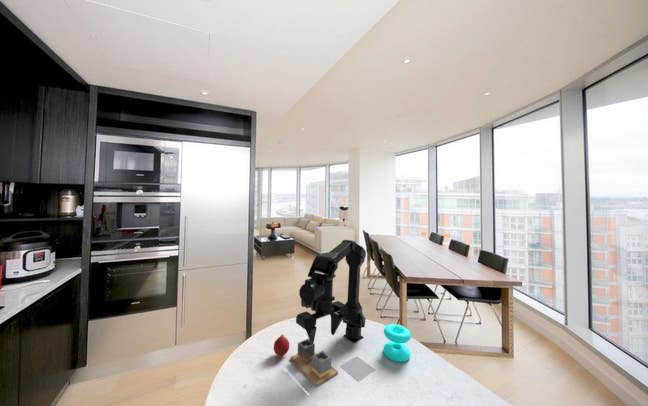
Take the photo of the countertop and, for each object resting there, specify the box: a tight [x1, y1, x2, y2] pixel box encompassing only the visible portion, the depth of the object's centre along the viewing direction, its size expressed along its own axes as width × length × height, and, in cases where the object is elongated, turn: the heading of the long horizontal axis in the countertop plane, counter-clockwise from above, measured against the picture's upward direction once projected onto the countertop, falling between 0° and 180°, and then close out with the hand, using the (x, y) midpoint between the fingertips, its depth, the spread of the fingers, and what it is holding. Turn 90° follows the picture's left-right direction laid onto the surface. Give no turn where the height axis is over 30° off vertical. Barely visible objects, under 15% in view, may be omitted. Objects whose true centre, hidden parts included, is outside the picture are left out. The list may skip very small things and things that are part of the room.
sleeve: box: [312, 350, 332, 378], centre depth 78 cm, size 4×4×5 cm
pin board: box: [289, 338, 339, 388], centre depth 81 cm, size 9×16×6 cm, turn 40°
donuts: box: [382, 323, 412, 363], centre depth 90 cm, size 10×10×10 cm
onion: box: [273, 333, 290, 357], centre depth 87 cm, size 6×6×8 cm
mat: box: [339, 355, 376, 383], centre depth 81 cm, size 9×9×1 cm
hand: (322, 339), depth 78 cm, fingers open, 9 cm apart
